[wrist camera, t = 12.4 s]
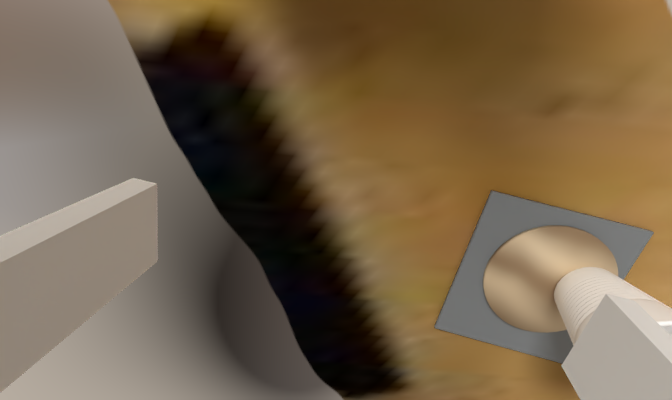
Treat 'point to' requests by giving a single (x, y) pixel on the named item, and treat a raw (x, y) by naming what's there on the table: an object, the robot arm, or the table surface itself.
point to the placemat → (490, 233)
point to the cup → (600, 298)
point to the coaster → (539, 273)
